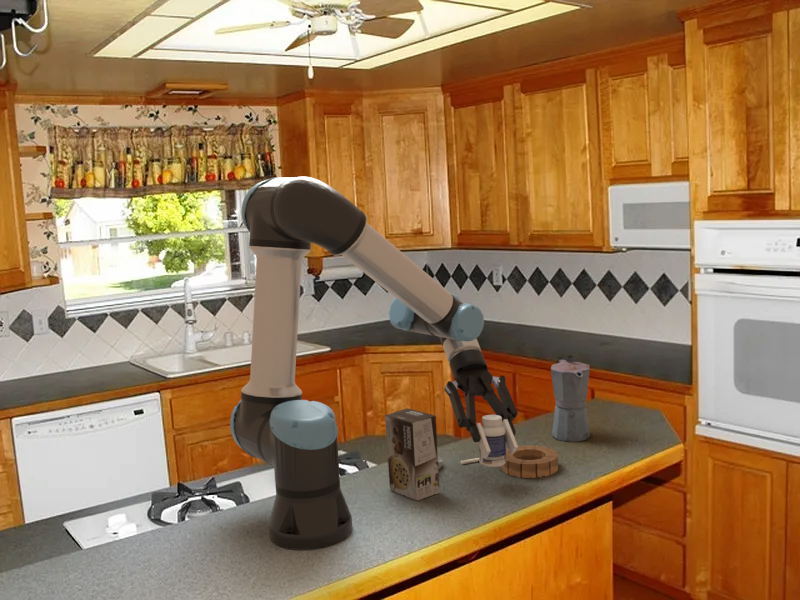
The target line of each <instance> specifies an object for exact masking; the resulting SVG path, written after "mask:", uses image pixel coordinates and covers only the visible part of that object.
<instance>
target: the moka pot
mask: <svg viewBox="0 0 800 600" xmlns="http://www.w3.org/2000/svg"><path fill="white" fill-rule="evenodd" d="M566 359H567V360H566ZM566 359H563V358H562V357H561V356H558V358H557V361H556V363H554V364H551V368H550V373H551V381H552V387H553V388H552V389H553V394H554V396H553V397H554V399H555V406H554V416H553V422H552V431H551V436H552V437H554V438H555V440H558V441H561V442H562V441H563V442H568V443H569V442H570V443H574V442H575V443H577V442H582V441H585V440H587V439H589V437H590V435H591V431H590V430H591V429H590V423H589V419H588V411H587V406H586V405H587V398H588V397H587V396H588V389H589V388H588V387H589V381H590V379H589V378H590V369H591V368H590V364H588V363H587V364H586V363H583V362H580V361H574V355H572V354H571V355H567V356H566Z"/></svg>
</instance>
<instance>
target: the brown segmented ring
mask: <svg viewBox="0 0 800 600" xmlns="http://www.w3.org/2000/svg"><path fill="white" fill-rule="evenodd" d="M558 453H559V452H557V451H555V449H552V448H550V447H546V446H541V445H518V448H517V450H516V451H515V453H514V454H510V451H509V449H508V448H506V463H505V464H504V465H502V466H500V470H501V472H503V473H504V474H507V475H508V476H512V477H515V476H516V477H515V478H520V477H521V478H522V479H537V477H540V478H543V477H542V476H545V477H549V476H552V475H554V474H556V473H557V472H558V471H559V459H558V458H559V457H558V456H559V455H558ZM556 471H557V472H556ZM553 473H554V474H553ZM530 477H531V478H530Z"/></svg>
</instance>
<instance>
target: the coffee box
mask: <svg viewBox="0 0 800 600" xmlns="http://www.w3.org/2000/svg"><path fill="white" fill-rule="evenodd" d="M384 421H385V436H386V437H385V438H386V449H387V451H386V452H387V463H388V464H387V465H388V478H389V479H388V480H389V490H390V491H391V490H392V491H393V492H395V493H397V494H399V495H402V496H404V495H405V497H407V498H409V497H410V499H412V500H415V501H420V500H423V499H425V498H429V497H431V496H434V494H435V495H437V493H438V494H439V493H440V479H439V476H440V475H439V468H438V457H439V454H438V439H437V438H438V437H437V416H436V415H435V414H431V413H428V412H423V411H419V410H415V409H411V408H404V409H401V410H398V411H397V410H396V411H394V412H391V413H388V414H384Z"/></svg>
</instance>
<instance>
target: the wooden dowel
mask: <svg viewBox="0 0 800 600" xmlns="http://www.w3.org/2000/svg"><path fill="white" fill-rule="evenodd" d="M478 461H479V462H480V457H475V458H470V459H464V460H460V464H461V465H467V464H472V463H478Z"/></svg>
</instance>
